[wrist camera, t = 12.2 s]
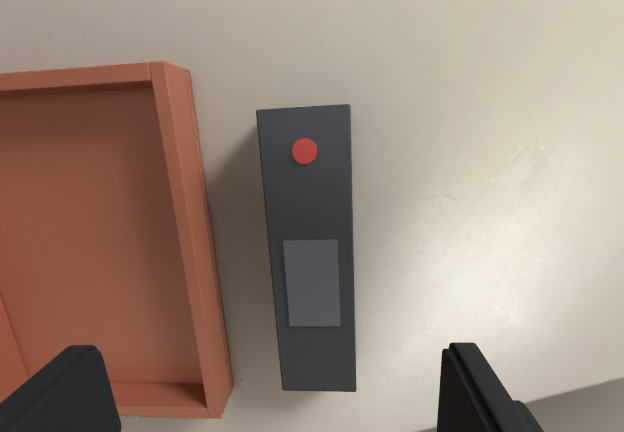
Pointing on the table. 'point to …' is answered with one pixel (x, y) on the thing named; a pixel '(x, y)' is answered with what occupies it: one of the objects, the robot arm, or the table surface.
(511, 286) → the table surface
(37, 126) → the tray
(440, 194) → the table surface
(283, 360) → the tv remote
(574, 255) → the table surface
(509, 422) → the robot arm
